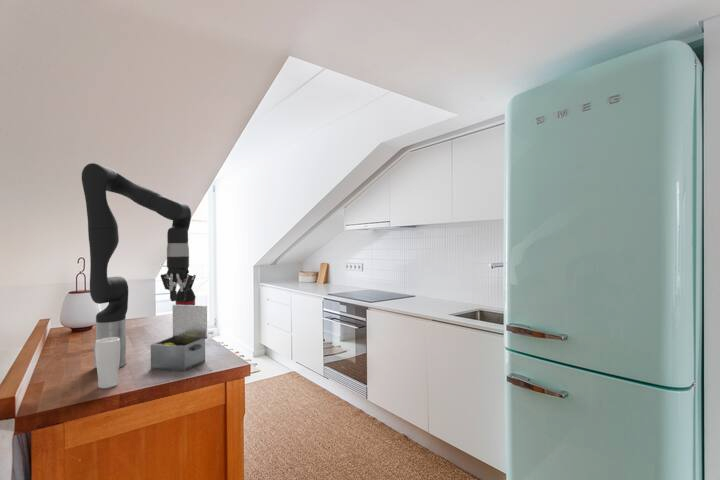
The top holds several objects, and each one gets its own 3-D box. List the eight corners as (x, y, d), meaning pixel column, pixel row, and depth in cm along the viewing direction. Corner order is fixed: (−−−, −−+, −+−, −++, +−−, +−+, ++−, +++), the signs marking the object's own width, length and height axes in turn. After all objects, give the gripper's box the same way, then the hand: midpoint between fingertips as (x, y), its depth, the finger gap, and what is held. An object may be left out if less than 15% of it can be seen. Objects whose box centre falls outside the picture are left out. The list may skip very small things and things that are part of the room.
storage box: (147, 369, 137) (147, 344, 137) (170, 358, 148) (170, 335, 148) (187, 372, 133) (187, 346, 133) (207, 361, 145) (207, 338, 145)
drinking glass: (95, 391, 116) (95, 343, 116) (95, 385, 122) (94, 339, 122) (121, 386, 120) (121, 340, 120) (120, 380, 126) (119, 335, 126)
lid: (172, 305, 148) (175, 304, 150) (172, 337, 148) (175, 336, 150) (205, 306, 145) (208, 305, 147) (205, 339, 145) (208, 338, 147)
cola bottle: (172, 342, 172) (172, 276, 172) (191, 338, 178) (191, 275, 178) (179, 345, 166) (178, 278, 166) (198, 342, 172) (198, 276, 172)
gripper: (154, 255, 138) (154, 302, 139) (188, 255, 136) (188, 303, 136) (168, 254, 146) (168, 299, 146) (200, 254, 143) (201, 300, 143)
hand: (178, 300), depth 141 cm, fingers open, 3 cm apart
